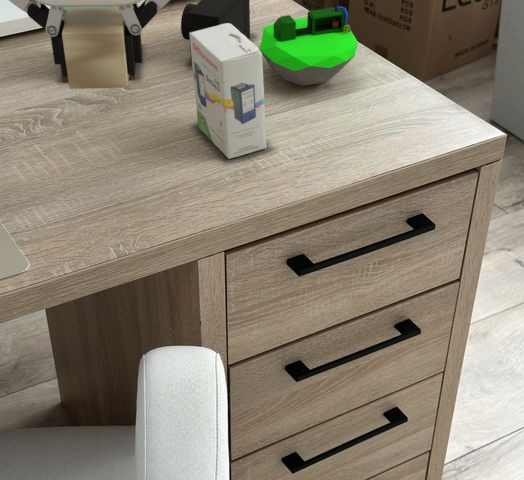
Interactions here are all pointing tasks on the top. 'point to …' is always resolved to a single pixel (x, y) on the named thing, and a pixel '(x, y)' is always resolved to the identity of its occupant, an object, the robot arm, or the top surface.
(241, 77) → the ink box
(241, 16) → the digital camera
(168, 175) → the top surface
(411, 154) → the top surface
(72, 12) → the toy block
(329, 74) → the toy floating island
